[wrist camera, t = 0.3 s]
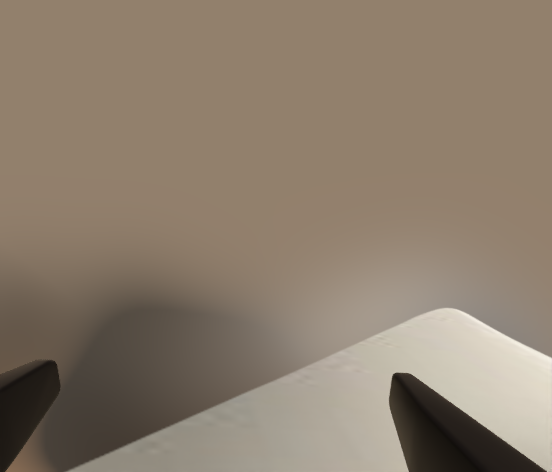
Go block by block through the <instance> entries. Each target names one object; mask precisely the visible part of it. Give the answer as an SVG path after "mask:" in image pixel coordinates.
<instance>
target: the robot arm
mask: <svg viewBox="0 0 552 472" xmlns="http://www.w3.org/2000/svg"><path fill="white" fill-rule="evenodd" d="M59 391H60V380H59V374H58V369H57V364H56V362H55V361H53V360H35V361H32V362H30V363H27V364H25V365H23V366H20V367H17V368H15V369H13V370H10V371H8V372H5V373H3V374H0V472H5V471H6V470H7V469H8V467H9V466H10V465H11V463H12V462H13V461H14V459H15V458H16V457H17V455H18V454H19V452H20V451H21V449H22V448H23V446H24V445H25V444H26V442H27V440H28V439H29V438H30V436H31V435H32V433H33V432H34V430H35V429H36V427H37V425H38V424H39V423H40V421H41V420H42V418H43V417H44V415H45V414H46V412H47V411H48V410H49V408H50V407H51V405H52V404H53V402H54V401H55V399H56V398H57V396H58V394H59ZM389 406H390V410H391V414H392V417H393V420H394V424H395V427H396V430H397V434H398V437H399V440H400V444H401V447H402V450H403V454H404V457H405V460H406V464H407V467H408V470H409V472H547V471H545V470H544V469H543V468H541V467H540V466H538V465H537V464H536V463H534V462H533V461H531V460H530V459H529V458H527V457H526V456H524V455H523V454H522V453H520V452H519V451H518V450H516V449H515V448H513V447H512V446H511V445H509V444H508V443H506V442H505V441H504V440H502V439H501V438H499V437H498V436H497V435H495V434H494V433H492V432H491V431H490V430H488V429H487V428H485V427H484V426H483V425H481V424H480V423H478V422H477V421H476V420H474V419H473V418H472V417H470V416H469V415H467V414H466V413H465V412H463V411H462V410H460V409H459V408H458V407H456V406H455V405H453V404H452V403H451V402H449V401H448V400H446V399H445V398H444V397H442V396H441V395H439V394H438V393H437V392H435V391H434V390H433V389H431V388H430V387H428V386H427V385H426V384H424V383H423V382H421V381H420V380H419V379H417V378H416V377H414V376H413V375H411V374H409V373H395V374H393V376H392V382H391V389H390V396H389Z"/></svg>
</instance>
